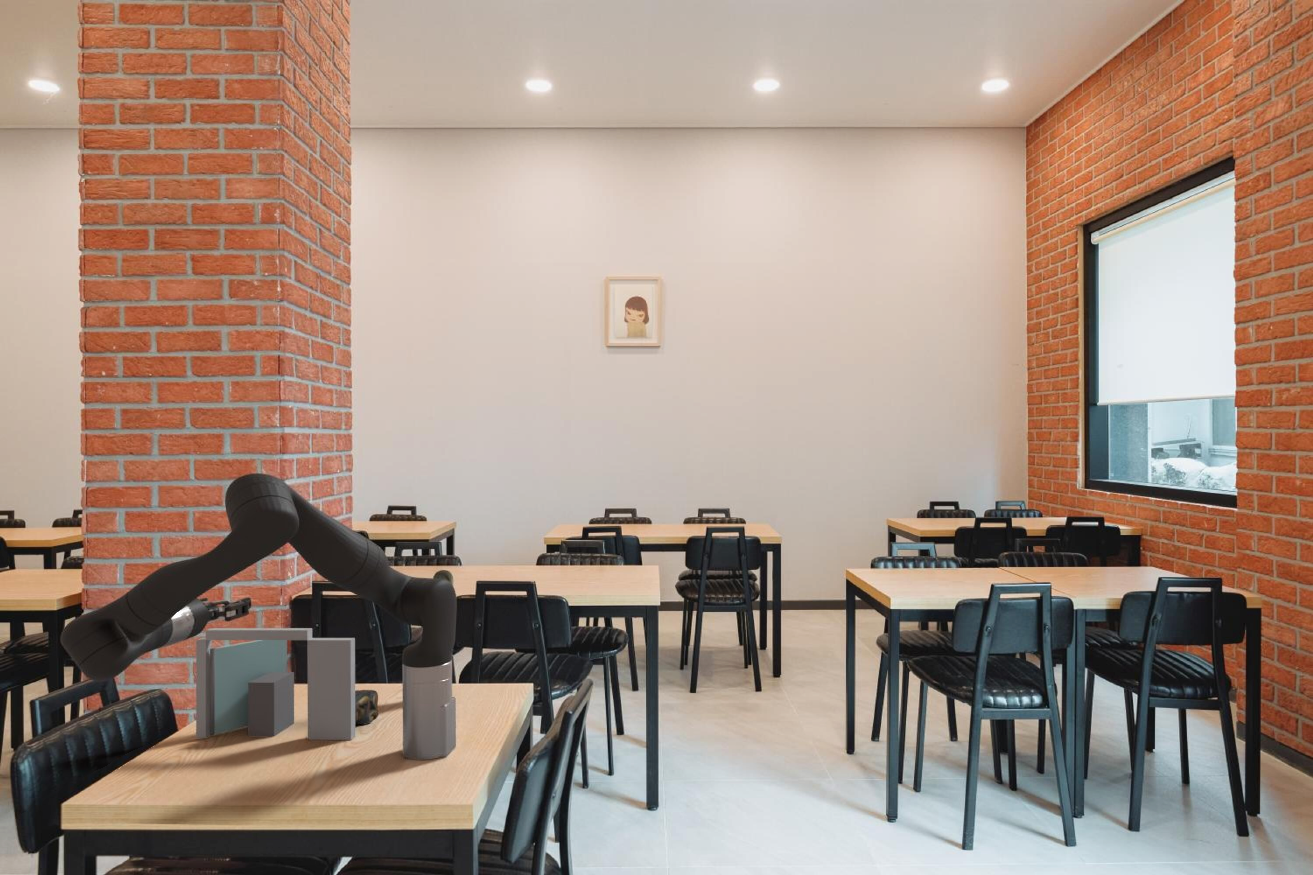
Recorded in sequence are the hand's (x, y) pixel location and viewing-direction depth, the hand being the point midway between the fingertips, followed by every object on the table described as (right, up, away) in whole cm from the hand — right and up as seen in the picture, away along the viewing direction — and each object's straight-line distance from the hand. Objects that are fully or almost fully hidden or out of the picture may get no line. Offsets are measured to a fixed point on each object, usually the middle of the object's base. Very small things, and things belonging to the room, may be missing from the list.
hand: (227, 602), depth 154 cm
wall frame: (+5, -30, +10) cm, 32 cm away
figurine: (+30, -30, +37) cm, 56 cm away
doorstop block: (+1, -30, +15) cm, 33 cm away
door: (-5, -29, +17) cm, 34 cm away
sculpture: (+17, -30, +17) cm, 39 cm away
